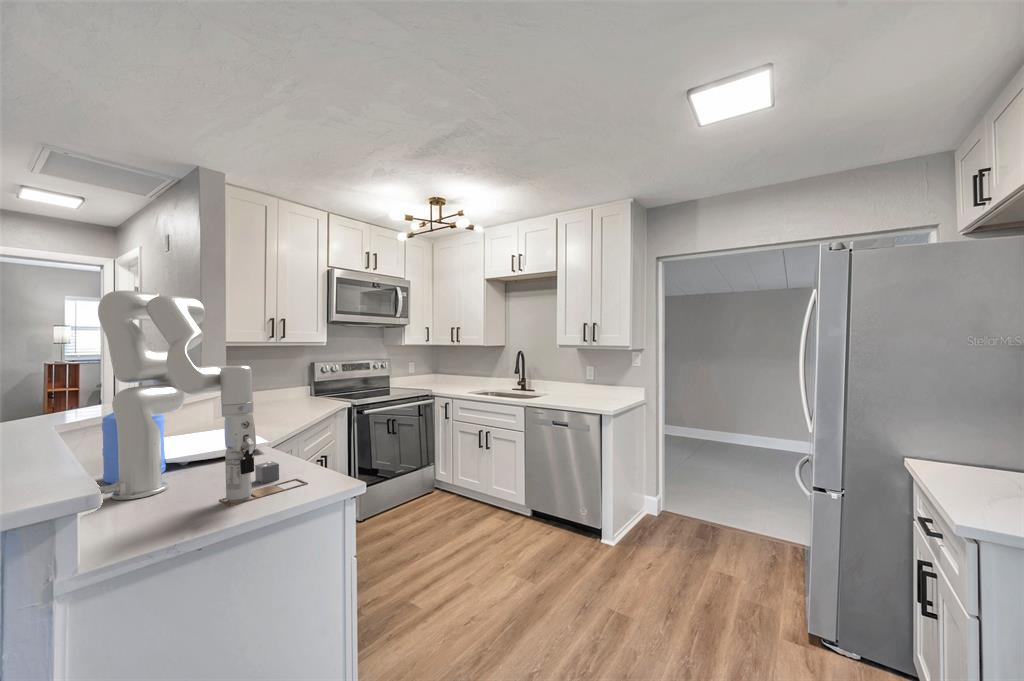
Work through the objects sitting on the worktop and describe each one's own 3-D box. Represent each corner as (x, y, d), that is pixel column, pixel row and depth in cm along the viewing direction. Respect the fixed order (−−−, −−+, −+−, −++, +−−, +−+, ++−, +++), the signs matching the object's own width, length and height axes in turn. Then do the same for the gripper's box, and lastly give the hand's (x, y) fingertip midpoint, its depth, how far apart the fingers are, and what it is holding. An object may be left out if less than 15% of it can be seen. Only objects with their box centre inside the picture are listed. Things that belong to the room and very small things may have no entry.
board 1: (151, 450, 177) (150, 439, 177) (239, 436, 200) (239, 426, 200) (166, 472, 146) (165, 459, 146) (269, 453, 169) (268, 441, 169)
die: (262, 483, 131) (262, 467, 131) (255, 480, 134) (255, 464, 134) (279, 479, 135) (278, 463, 135) (272, 476, 138) (271, 460, 138)
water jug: (147, 482, 135) (145, 395, 135) (89, 486, 132) (87, 397, 132) (175, 467, 150) (173, 389, 150) (124, 471, 147) (122, 391, 147)
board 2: (229, 506, 113) (229, 505, 113) (219, 500, 118) (219, 499, 118) (308, 483, 130) (308, 482, 130) (296, 479, 135) (296, 478, 135)
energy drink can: (256, 496, 120) (255, 444, 120) (235, 504, 115) (234, 449, 115) (242, 494, 122) (241, 442, 122) (221, 501, 117) (220, 448, 117)
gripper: (265, 409, 116) (268, 471, 116) (240, 405, 127) (242, 462, 127) (234, 413, 110) (237, 479, 110) (211, 409, 121) (213, 469, 121)
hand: (240, 470), depth 118 cm, fingers open, 9 cm apart
